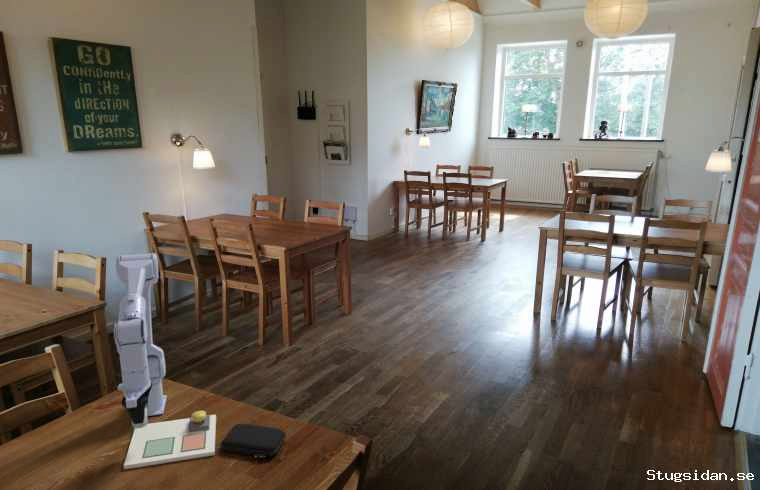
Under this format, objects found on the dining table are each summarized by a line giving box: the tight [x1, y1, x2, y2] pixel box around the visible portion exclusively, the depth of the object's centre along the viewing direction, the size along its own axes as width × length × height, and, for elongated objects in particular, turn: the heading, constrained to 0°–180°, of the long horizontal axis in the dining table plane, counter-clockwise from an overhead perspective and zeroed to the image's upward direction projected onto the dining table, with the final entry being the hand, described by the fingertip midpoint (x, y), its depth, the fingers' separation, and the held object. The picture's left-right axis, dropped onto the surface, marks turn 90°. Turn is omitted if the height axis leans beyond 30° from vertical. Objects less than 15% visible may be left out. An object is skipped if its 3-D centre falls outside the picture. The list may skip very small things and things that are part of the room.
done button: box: [191, 410, 207, 423], centre depth 130 cm, size 4×4×2 cm
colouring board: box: [123, 414, 217, 470], centre depth 125 cm, size 16×20×2 cm
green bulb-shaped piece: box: [131, 406, 149, 429], centre depth 120 cm, size 4×4×6 cm
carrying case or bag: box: [220, 422, 287, 459], centre depth 124 cm, size 11×3×15 cm
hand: (140, 418), depth 120 cm, fingers closed on green bulb-shaped piece, 3 cm apart
